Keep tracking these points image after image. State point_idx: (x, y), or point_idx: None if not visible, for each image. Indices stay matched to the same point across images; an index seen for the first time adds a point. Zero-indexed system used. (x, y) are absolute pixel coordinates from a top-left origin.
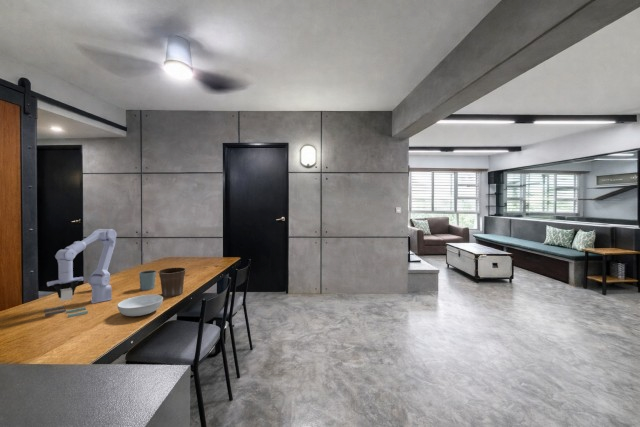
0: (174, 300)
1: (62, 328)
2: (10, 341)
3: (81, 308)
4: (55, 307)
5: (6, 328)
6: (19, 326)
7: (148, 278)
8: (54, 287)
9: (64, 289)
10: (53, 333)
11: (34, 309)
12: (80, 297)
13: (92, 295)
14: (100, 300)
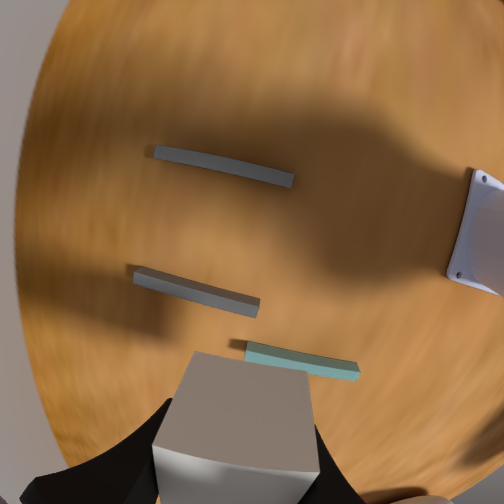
0: (494, 467)
1: None
2: (60, 437)
3: (333, 375)
4: (228, 163)
5: (20, 308)
6: (50, 335)
7: None
8: (65, 483)
9: (217, 480)
10: None
11: (151, 29)
12: (446, 19)
13: (498, 252)
14: (485, 287)
